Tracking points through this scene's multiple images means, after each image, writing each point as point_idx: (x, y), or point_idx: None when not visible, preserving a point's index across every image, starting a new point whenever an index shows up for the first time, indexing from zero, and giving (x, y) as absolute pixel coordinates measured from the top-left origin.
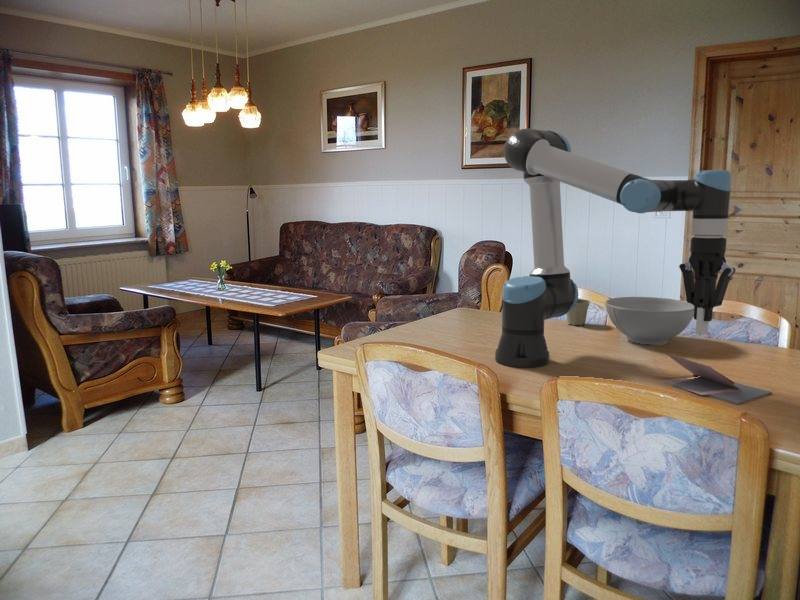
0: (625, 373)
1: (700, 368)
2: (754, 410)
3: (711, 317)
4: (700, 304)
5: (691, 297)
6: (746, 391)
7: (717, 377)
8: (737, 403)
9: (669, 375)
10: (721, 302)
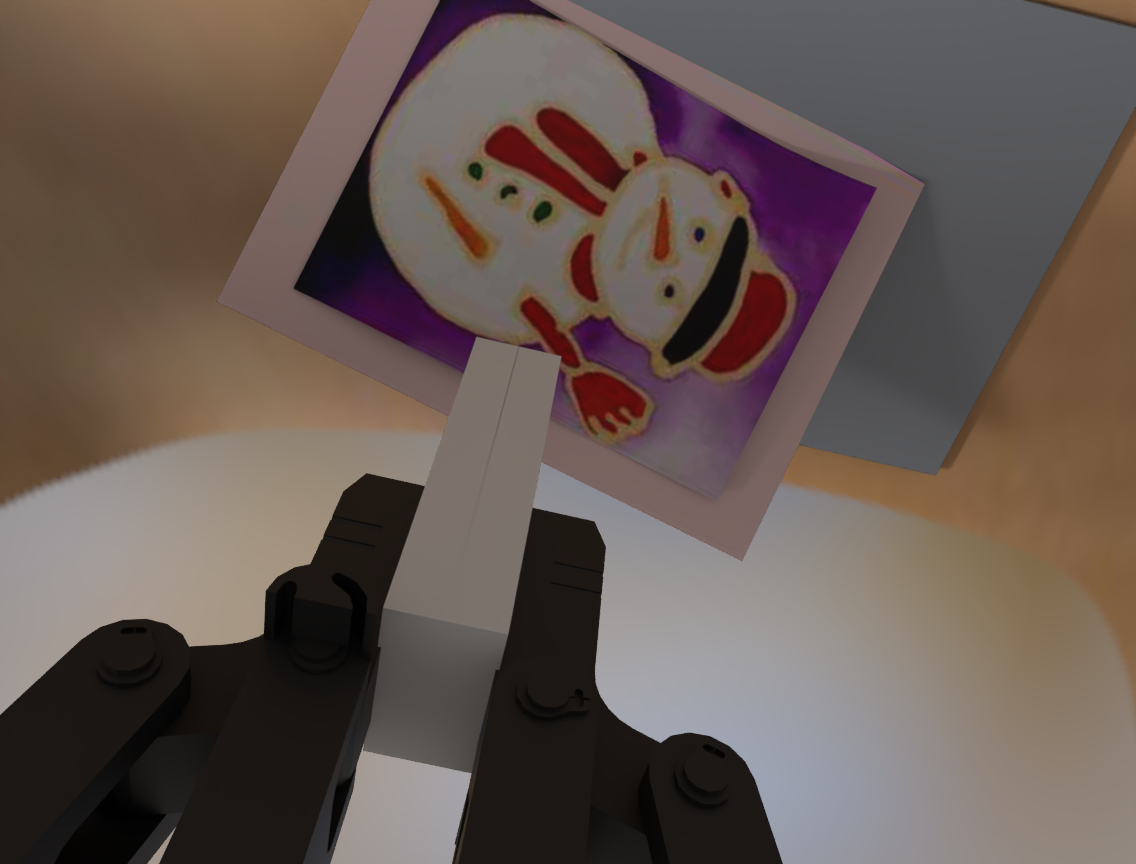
0: (61, 294)
1: (600, 327)
2: (1037, 502)
3: (599, 579)
4: (359, 735)
5: (142, 857)
6: (963, 181)
7: (741, 271)
8: (931, 471)
9: (295, 103)
10: (758, 836)
